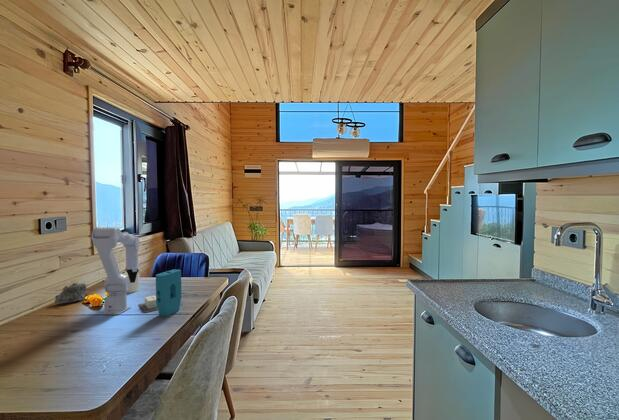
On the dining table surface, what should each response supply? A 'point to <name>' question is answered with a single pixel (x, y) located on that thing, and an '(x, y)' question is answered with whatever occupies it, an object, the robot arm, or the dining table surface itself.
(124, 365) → the dining table surface
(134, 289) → the white cup
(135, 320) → the dining table surface
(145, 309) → the mat
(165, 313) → the block
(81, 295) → the mineral rock
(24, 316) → the dining table surface
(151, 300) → the block
